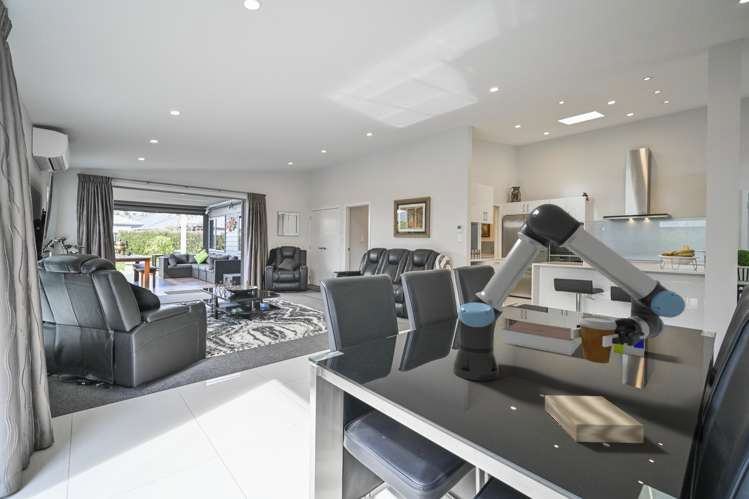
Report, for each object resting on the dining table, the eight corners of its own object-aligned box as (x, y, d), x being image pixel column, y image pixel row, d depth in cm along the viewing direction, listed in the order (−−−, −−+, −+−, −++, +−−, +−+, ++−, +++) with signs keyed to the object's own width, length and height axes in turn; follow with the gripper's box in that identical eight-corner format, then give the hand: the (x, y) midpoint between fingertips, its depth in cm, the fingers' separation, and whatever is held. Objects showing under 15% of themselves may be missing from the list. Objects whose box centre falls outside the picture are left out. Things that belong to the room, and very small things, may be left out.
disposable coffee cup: (604, 355, 106) (605, 316, 105) (623, 366, 96) (624, 323, 96) (571, 353, 107) (572, 315, 106) (587, 364, 97) (588, 321, 97)
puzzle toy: (643, 357, 140) (644, 332, 140) (613, 352, 146) (614, 328, 146) (643, 351, 148) (644, 327, 148) (614, 346, 154) (615, 324, 154)
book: (518, 333, 176) (518, 321, 176) (582, 344, 159) (582, 330, 159) (501, 344, 158) (502, 329, 158) (571, 357, 140) (571, 341, 140)
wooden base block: (576, 441, 78) (576, 424, 78) (544, 410, 93) (545, 395, 93) (643, 443, 78) (643, 425, 78) (601, 411, 93) (601, 396, 93)
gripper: (669, 350, 101) (628, 362, 90) (594, 333, 119) (552, 341, 108) (670, 325, 101) (629, 333, 90) (594, 311, 119) (553, 317, 108)
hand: (587, 337), depth 99 cm, fingers closed on disposable coffee cup, 8 cm apart
